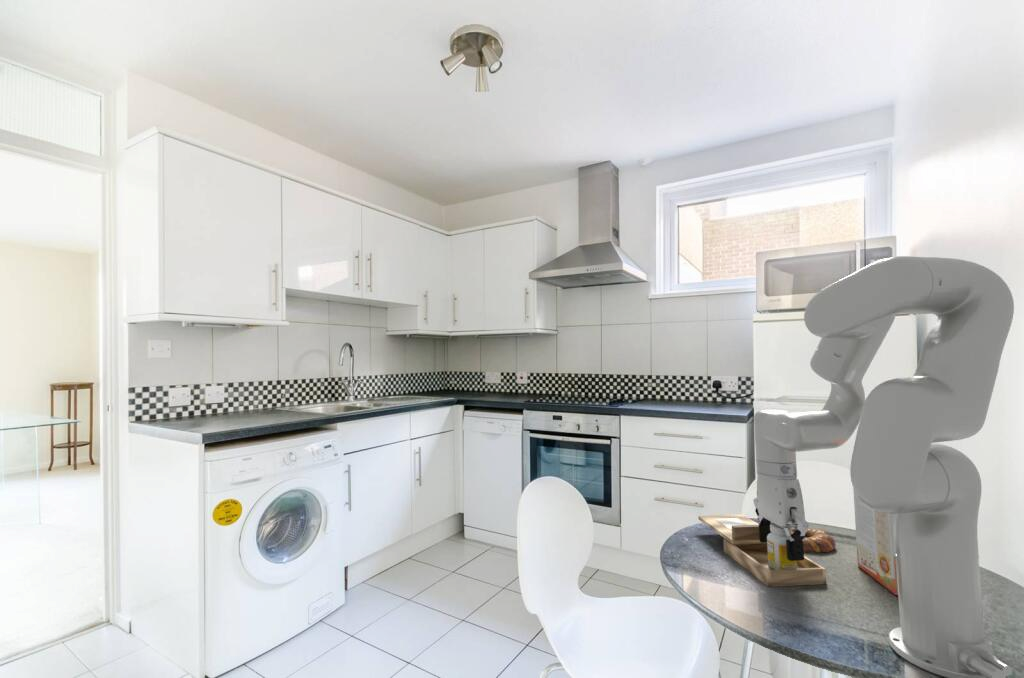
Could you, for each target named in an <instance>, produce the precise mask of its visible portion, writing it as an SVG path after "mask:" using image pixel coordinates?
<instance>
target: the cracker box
mask: <svg viewBox="0 0 1024 678" xmlns="http://www.w3.org/2000/svg"><path fill="white" fill-rule="evenodd" d="M852 489H853V505H854V506H853V507H854V520H855V521H854V522H855V540H856V542H855V543H856V559H857V566H858V567H859V568H860V569H862V570H863V571H865V572H866V573H867V574H868V575H869V576H870V577H872V578H873V579H874V580H875V581H877V582H878V583H879V584H880V585H882V586H883V587H884V588H885V589H887V590H888V591H889V592H891V593H892V594H894V595H895V596H898V583H897V569H896V554H895V536H894V527H895V519H896V515H897V514H890V513H884V512H880V511H877V510H875V509H873V508H871V507H869V506H868V505H866V504H865V503H864V502H863V501H862V500H861V499H860V498H859V497H858V495H857V494H856V492H855V490H854V488H853V487H852Z"/></svg>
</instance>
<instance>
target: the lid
mask: <svg viewBox="0 0 1024 678" xmlns="http://www.w3.org/2000/svg"><path fill="white" fill-rule="evenodd" d="M697 518H698V520H699V521H700V522H702V523H703V524H705V526H707V527H709V528H710V529H711V530H713V531H714V532H715V533H717V535H720V536H721V537H722V538H723V539H726V540H728V541H729V542H730V543H732V544H757V543H762V542H760V539H759V524H760V523H758V522H756V521H754V520H752V519H751V518H749V517H747V516H746V515H744V514H722V515H721V514H719V515H717V514H716V515H700V516H699V515H698V517H697Z"/></svg>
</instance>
